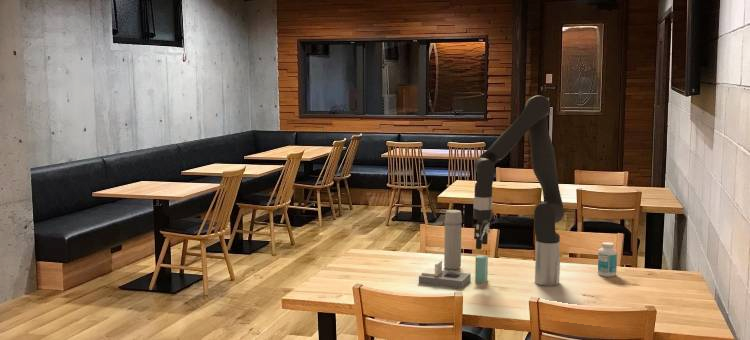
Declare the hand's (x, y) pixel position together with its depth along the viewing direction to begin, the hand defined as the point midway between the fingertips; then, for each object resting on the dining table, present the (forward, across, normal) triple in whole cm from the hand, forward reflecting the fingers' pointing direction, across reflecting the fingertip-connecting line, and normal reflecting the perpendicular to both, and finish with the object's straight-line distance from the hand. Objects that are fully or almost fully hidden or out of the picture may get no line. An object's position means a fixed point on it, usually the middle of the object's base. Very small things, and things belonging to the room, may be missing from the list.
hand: (481, 246), depth 301 cm
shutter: (+11, +9, -18) cm, 23 cm away
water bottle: (+15, -14, -17) cm, 26 cm away
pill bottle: (+14, -29, +46) cm, 56 cm away
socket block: (+14, +9, -12) cm, 21 cm away
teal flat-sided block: (+14, 0, 0) cm, 14 cm away
